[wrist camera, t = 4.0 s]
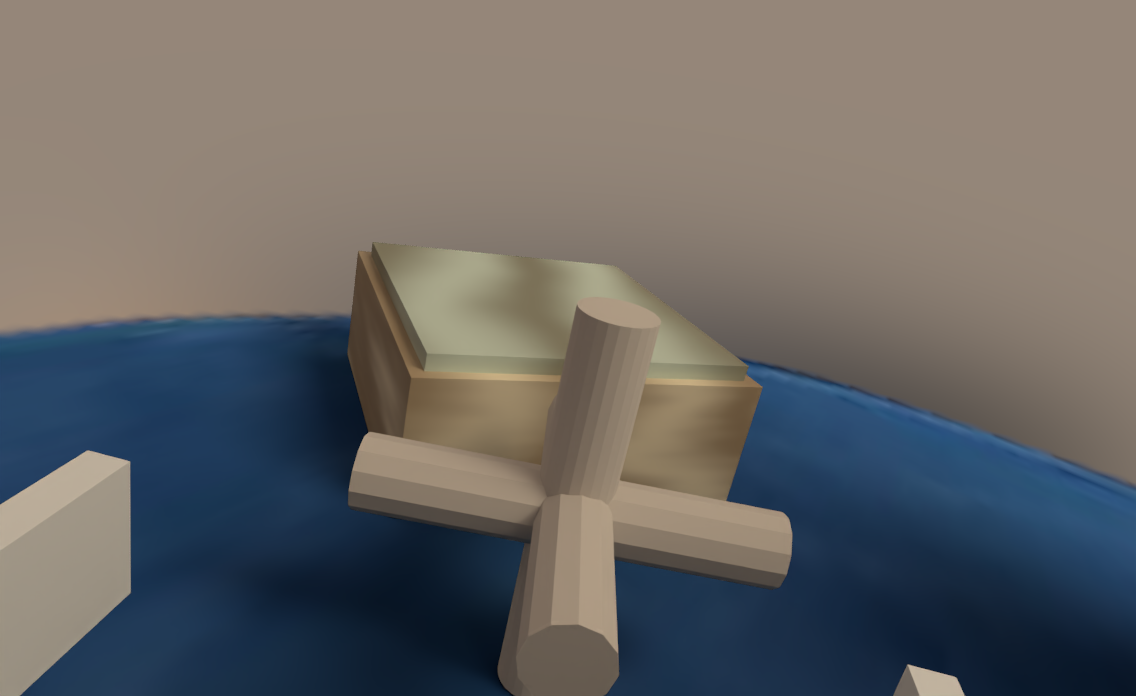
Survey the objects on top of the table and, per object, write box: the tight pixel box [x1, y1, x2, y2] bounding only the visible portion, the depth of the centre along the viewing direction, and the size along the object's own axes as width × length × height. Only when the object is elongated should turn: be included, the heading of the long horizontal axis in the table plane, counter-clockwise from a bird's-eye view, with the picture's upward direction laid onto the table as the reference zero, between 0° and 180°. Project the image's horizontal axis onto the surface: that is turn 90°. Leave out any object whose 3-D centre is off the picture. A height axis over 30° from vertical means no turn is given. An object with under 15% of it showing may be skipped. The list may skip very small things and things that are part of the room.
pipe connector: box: [348, 297, 792, 696], centre depth 18 cm, size 10×10×10 cm
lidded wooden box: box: [347, 242, 762, 518], centre depth 32 cm, size 13×13×6 cm
